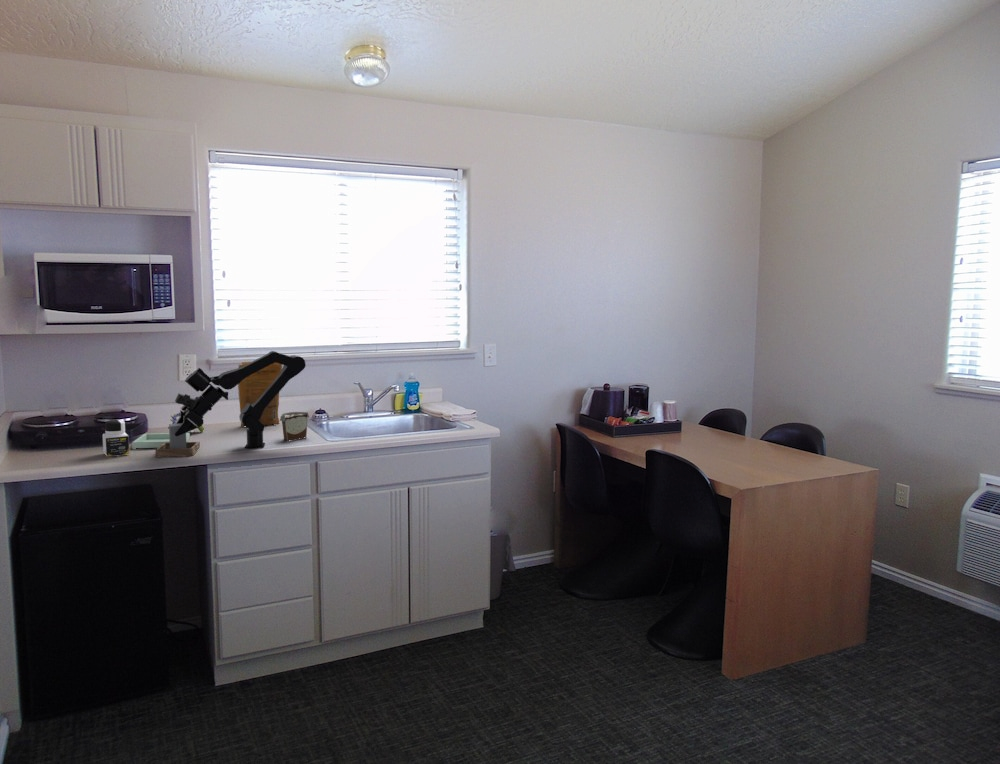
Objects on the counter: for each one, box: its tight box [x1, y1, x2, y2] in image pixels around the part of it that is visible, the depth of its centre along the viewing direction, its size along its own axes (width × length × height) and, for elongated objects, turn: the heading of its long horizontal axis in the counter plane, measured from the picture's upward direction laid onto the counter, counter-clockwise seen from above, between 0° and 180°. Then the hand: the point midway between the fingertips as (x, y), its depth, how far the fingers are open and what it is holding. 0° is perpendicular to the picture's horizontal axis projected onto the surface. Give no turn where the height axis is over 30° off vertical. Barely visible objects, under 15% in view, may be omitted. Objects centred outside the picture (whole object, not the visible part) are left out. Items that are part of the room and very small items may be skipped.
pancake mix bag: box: [237, 361, 283, 427], centre depth 310 cm, size 7×19×28 cm, turn 124°
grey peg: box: [168, 423, 187, 449], centre depth 258 cm, size 5×5×10 cm
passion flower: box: [167, 409, 205, 433], centre depth 292 cm, size 11×11×12 cm
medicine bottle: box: [102, 419, 130, 457], centre depth 253 cm, size 7×7×12 cm
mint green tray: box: [131, 432, 191, 450], centre depth 271 cm, size 16×16×3 cm
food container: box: [279, 411, 310, 442], centre depth 285 cm, size 12×6×10 cm, turn 146°
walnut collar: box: [154, 441, 201, 457], centre depth 258 cm, size 12×12×2 cm
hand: (174, 433), depth 257 cm, fingers open, 9 cm apart
